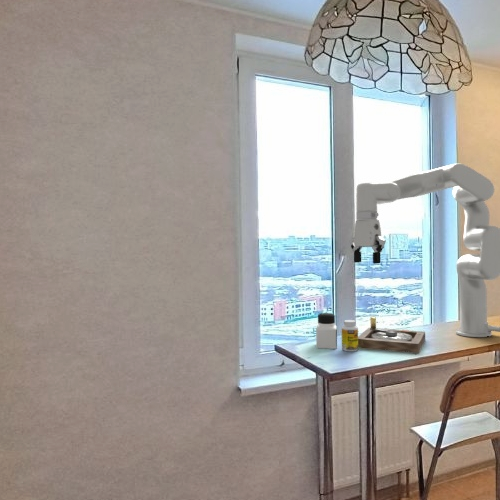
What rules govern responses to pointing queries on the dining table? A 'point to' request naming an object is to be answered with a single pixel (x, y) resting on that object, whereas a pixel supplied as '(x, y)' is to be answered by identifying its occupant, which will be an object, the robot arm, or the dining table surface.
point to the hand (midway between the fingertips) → (366, 262)
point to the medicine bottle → (326, 331)
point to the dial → (388, 333)
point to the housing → (392, 341)
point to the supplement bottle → (349, 336)
